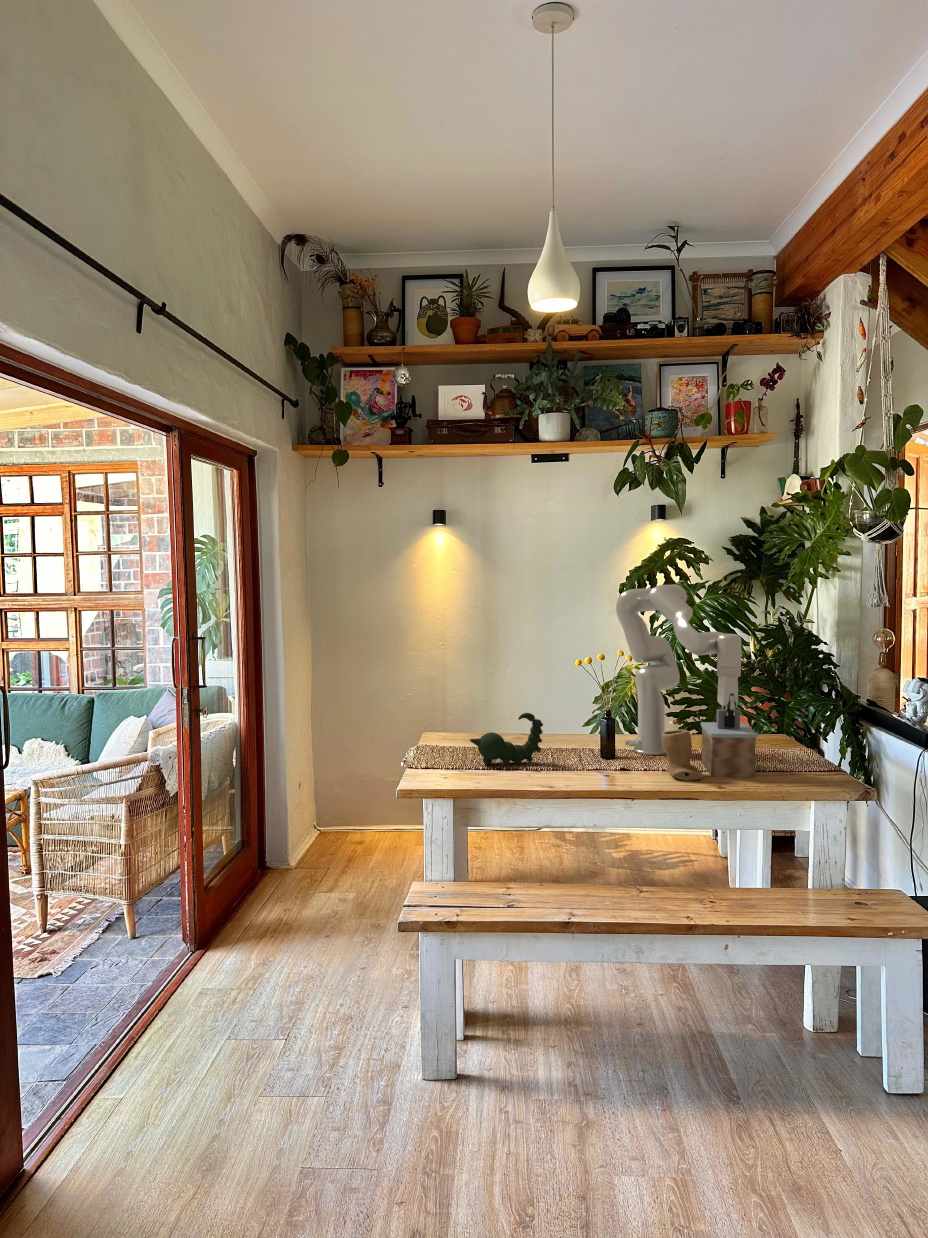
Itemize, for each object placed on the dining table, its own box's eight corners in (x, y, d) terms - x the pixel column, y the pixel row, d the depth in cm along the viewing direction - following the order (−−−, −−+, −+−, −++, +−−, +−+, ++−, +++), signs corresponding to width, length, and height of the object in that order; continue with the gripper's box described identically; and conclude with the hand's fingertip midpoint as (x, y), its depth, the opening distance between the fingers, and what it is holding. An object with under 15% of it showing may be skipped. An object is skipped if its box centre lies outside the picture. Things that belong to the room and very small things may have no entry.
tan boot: (658, 769, 285) (659, 725, 284) (695, 770, 284) (695, 726, 283) (665, 782, 270) (665, 735, 269) (703, 782, 269) (704, 736, 268)
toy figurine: (536, 764, 302) (466, 760, 299) (540, 711, 300) (470, 707, 298) (541, 770, 292) (469, 767, 290) (546, 716, 291) (473, 712, 288)
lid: (711, 737, 274) (711, 715, 274) (700, 725, 293) (701, 705, 292) (757, 737, 273) (757, 715, 273) (743, 726, 291) (744, 705, 291)
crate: (711, 776, 276) (712, 737, 275) (701, 763, 293) (702, 726, 292) (754, 777, 275) (755, 737, 274) (742, 763, 292) (742, 726, 291)
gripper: (712, 667, 290) (711, 720, 291) (722, 675, 273) (721, 731, 275) (734, 667, 289) (734, 721, 291) (746, 675, 273) (745, 731, 274)
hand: (728, 725), depth 283 cm, fingers open, 3 cm apart
